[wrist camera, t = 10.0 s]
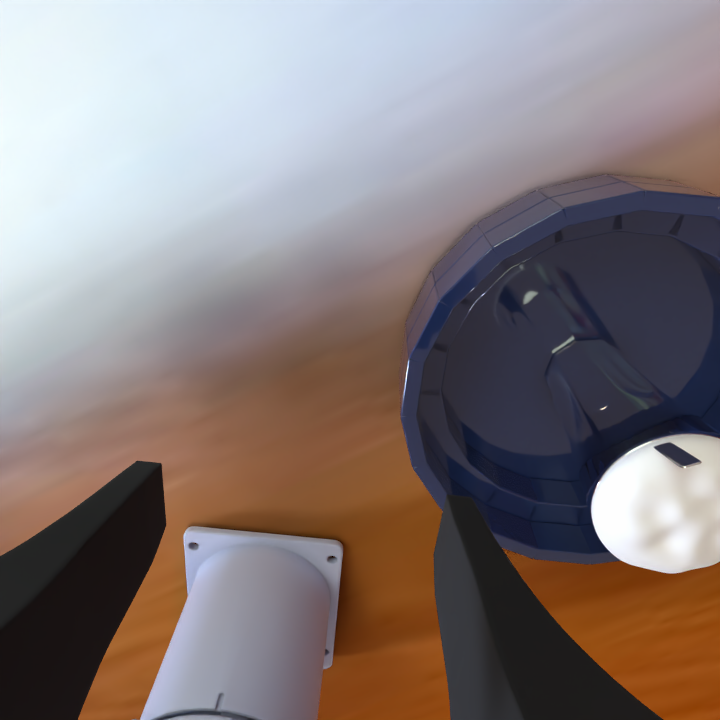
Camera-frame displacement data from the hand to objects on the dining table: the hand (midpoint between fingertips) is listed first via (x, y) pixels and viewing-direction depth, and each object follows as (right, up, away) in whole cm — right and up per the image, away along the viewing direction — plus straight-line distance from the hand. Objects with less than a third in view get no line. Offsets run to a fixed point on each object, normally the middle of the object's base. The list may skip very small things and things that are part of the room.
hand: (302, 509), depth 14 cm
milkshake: (+11, +4, +9) cm, 14 cm away
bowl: (+11, +4, +9) cm, 15 cm away
